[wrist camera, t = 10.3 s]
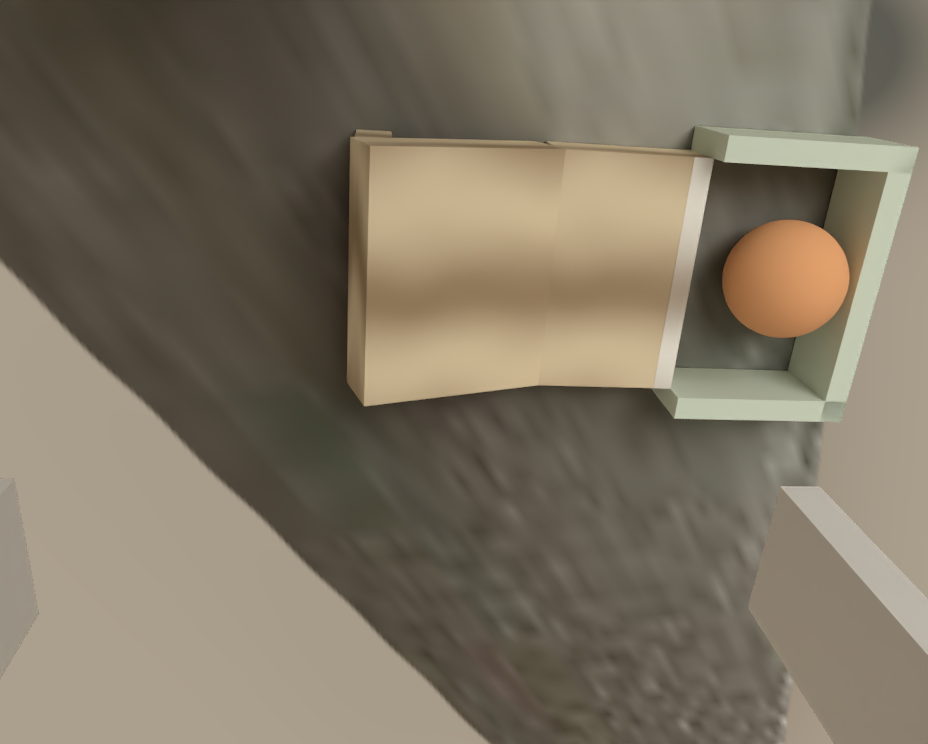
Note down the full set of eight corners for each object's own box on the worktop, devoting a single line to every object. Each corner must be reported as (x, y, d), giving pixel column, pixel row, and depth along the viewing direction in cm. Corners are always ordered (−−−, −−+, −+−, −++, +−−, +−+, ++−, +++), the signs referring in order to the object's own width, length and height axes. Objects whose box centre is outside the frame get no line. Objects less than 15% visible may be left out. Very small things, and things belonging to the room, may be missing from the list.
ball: (715, 218, 32) (847, 234, 29) (751, 208, 36) (871, 221, 33) (698, 335, 34) (821, 361, 31) (734, 314, 37) (846, 334, 35)
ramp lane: (352, 128, 32) (347, 144, 27) (691, 150, 33) (740, 168, 29) (349, 358, 35) (344, 405, 31) (652, 366, 37) (690, 413, 33)
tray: (695, 125, 33) (729, 135, 30) (868, 137, 34) (919, 147, 31) (649, 385, 37) (674, 418, 34) (802, 389, 38) (840, 422, 35)
